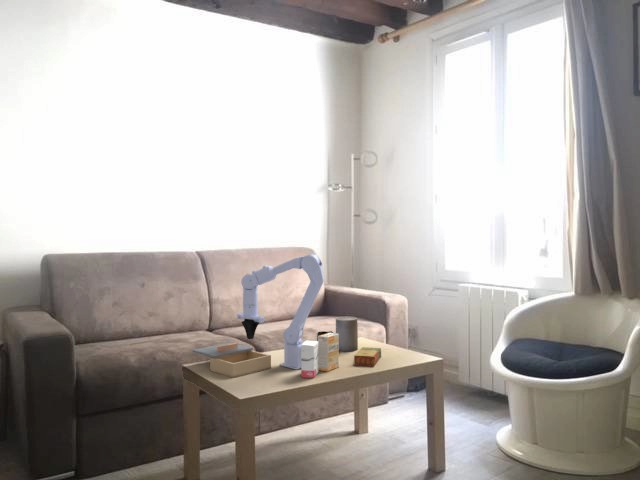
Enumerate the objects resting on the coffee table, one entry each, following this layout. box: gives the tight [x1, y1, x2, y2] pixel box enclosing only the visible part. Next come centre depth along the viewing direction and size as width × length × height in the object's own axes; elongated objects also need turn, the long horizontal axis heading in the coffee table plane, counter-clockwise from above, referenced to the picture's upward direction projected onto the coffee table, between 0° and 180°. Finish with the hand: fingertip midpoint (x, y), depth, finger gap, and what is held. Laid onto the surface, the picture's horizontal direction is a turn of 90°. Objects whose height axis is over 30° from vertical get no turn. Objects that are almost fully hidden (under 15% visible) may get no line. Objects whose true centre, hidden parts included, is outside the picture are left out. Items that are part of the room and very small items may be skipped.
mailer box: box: [209, 350, 272, 379], centre depth 211 cm, size 14×18×5 cm
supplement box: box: [318, 332, 340, 372], centre depth 212 cm, size 8×5×13 cm, turn 148°
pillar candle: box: [335, 315, 359, 352], centre depth 246 cm, size 10×10×15 cm
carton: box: [353, 347, 382, 367], centre depth 225 cm, size 8×16×4 cm, turn 164°
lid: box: [192, 342, 254, 358], centre depth 219 cm, size 14×18×3 cm
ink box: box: [300, 339, 319, 379], centre depth 204 cm, size 9×5×12 cm, turn 168°
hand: (250, 338), depth 219 cm, fingers closed
